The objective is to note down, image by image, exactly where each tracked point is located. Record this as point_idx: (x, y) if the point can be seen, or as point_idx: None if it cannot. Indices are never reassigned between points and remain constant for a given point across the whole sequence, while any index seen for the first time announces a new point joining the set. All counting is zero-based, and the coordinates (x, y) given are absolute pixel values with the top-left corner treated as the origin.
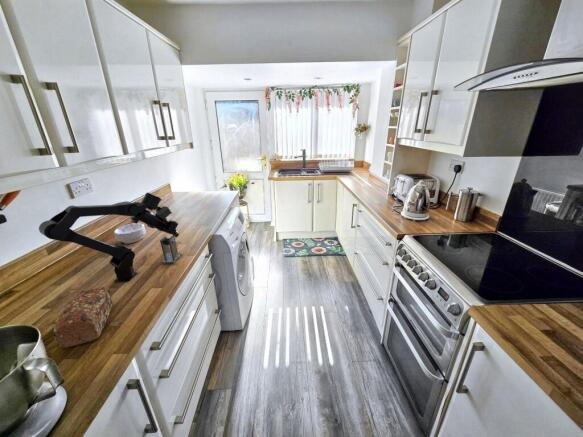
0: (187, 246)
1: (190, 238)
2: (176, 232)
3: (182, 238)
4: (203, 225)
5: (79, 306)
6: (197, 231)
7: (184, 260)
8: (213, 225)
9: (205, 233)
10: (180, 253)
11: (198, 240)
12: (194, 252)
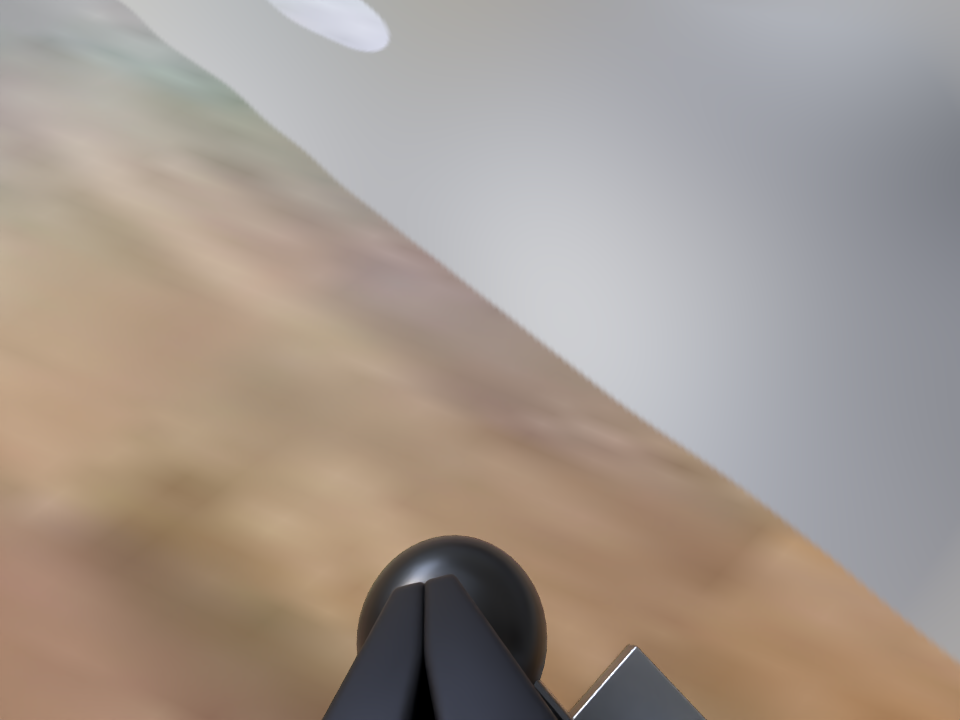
0: (408, 460)
1: (200, 327)
2: (498, 610)
3: (89, 403)
4: (13, 82)
5: None
6: (93, 187)
7: (856, 703)
8: (132, 20)
9: (244, 150)
10: (646, 674)
11: (357, 281)
12: (682, 469)
